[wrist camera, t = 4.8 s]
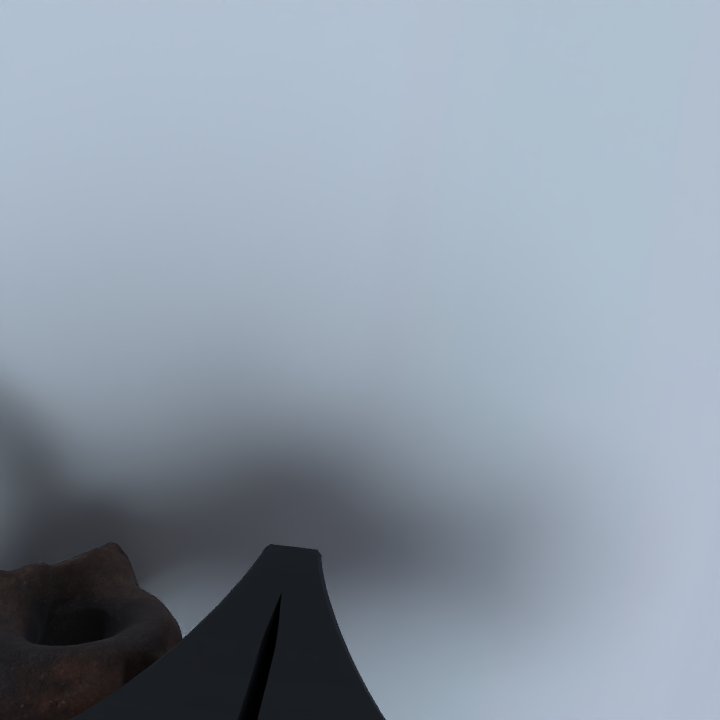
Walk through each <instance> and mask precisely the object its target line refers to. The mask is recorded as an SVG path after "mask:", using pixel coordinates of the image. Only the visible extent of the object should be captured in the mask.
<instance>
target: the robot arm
mask: <svg viewBox="0 0 720 720" xmlns="http://www.w3.org/2000/svg"><path fill="white" fill-rule="evenodd" d="M71 720H386V719H385V718H384V716H383V715H382V713H381V712H380V710H379V708H378V706H377V705H376V703H375V701H374V700H373V698H372V696H371V694H370V693H369V691H368V689H367V687H366V685H365V683H364V682H363V680H362V678H361V676H360V674H359V672H358V670H357V668H356V666H355V664H354V662H353V660H352V657H351V655H350V653H349V651H348V648H347V646H346V644H345V641H344V639H343V636H342V634H341V631H340V629H339V626H338V624H337V621H336V618H335V615H334V612H333V609H332V606H331V603H330V600H329V596H328V593H327V589H326V585H325V581H324V576H323V570H322V562H321V554H320V553H319V552H318V550H314V549H306V548H298V547H290V546H282V545H273V544H270V545H269V546H267V547H266V548H265V549H264V551H263V552H262V554H261V555H260V556H259V558H258V559H257V561H256V562H255V563H254V564H253V566H252V567H251V568H250V570H249V571H248V572H247V573H246V574H245V576H244V577H243V578H242V579H241V580H240V582H239V583H238V584H237V585H236V586H235V587H234V588H233V589H232V590H231V592H230V593H229V594H228V595H227V596H226V597H225V598H224V599H223V600H222V602H221V603H220V604H219V605H218V606H217V607H216V608H215V609H214V610H213V611H212V612H211V613H210V614H209V615H208V616H207V617H206V618H204V619H203V620H202V621H201V622H200V623H199V624H198V625H197V626H196V627H195V628H194V629H193V630H192V631H191V632H190V633H189V634H188V635H187V636H185V637H184V638H183V639H182V640H181V641H180V642H179V643H178V644H176V645H175V646H174V647H173V648H172V649H170V650H169V651H168V652H167V653H166V654H164V655H163V656H162V657H161V658H159V659H158V660H157V661H156V662H155V663H153V664H152V665H151V666H149V667H148V668H147V669H145V670H144V671H143V672H141V673H140V674H139V675H137V676H136V677H134V678H133V679H132V680H130V681H129V682H128V683H126V684H125V685H124V686H122V687H121V688H119V689H118V690H116V691H115V692H114V693H112V694H111V695H109V696H108V697H106V698H105V699H103V700H102V701H100V702H99V703H97V704H95V705H94V706H92V707H90V708H89V709H87V710H86V711H84V712H82V713H81V714H79V715H77V716H76V717H74V718H73V719H71Z"/></svg>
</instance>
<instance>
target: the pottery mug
mask: <svg viewBox="0 0 720 720" xmlns="http://www.w3.org/2000/svg"><path fill="white" fill-rule="evenodd" d="M181 640H182V635H181V630H180V627H179V625H178V623H177V621H176V619H175V618H174V617H173V616H172V614H171V613H170V612H169V610H168V609H167V608H166V607H165V605H164V604H163V603H162V602H161V601H159V600H158V599H157V598H156V597H155V596H153V595H151V594H149V593H147V592H146V591H144V590H142V589H140V588H139V587H138V584H137V581H136V578H135V575H134V572H133V569H132V566H131V564H130V561H129V559H128V557H127V556H126V555H125V553H124V552H123V550H122V549H121V548H120V546H119V545H118V544H116V543H113V542H110V543H107V544H106V545H104V546H102V547H100V548H96V549H93V550H91V551H89V552H86V553H83V554H81V555H78V556H76V557H74V558H72V559H70V560H66V561H63V562H61V563H59V564H56V565H48V564H46V563H42V564H35V565H29V566H25V567H23V568H20V569H17V570H14V571H2V570H0V720H71V719H73V718H74V717H76V716H77V715H79V714H81V713H82V712H84V711H86V710H87V709H89V708H90V707H92V706H94V705H95V704H97V703H99V702H100V701H102V700H103V699H105V698H106V697H108V696H109V695H111V694H112V693H114V692H115V691H116V690H118V689H119V688H121V687H122V686H124V685H125V684H126V683H128V682H129V681H130V680H132V679H133V678H134V677H136V676H137V675H139V674H140V673H141V672H143V671H144V670H145V669H147V668H148V667H149V666H151V665H152V664H153V663H155V662H156V661H157V660H158V659H159V658H161V657H162V656H163V655H164V654H166V653H167V652H168V651H169V650H170V649H172V648H173V647H174V646H175V645H176V644H178V643H179V642H180V641H181Z"/></svg>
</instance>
